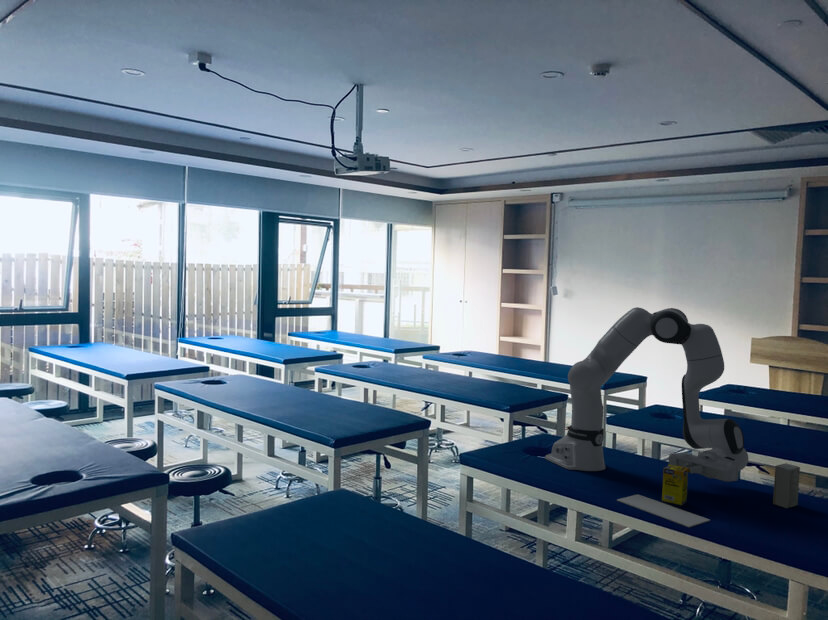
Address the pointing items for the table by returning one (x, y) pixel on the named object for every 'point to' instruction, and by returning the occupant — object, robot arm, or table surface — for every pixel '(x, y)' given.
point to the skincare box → (786, 485)
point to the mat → (664, 510)
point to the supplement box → (675, 485)
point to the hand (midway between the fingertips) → (687, 469)
